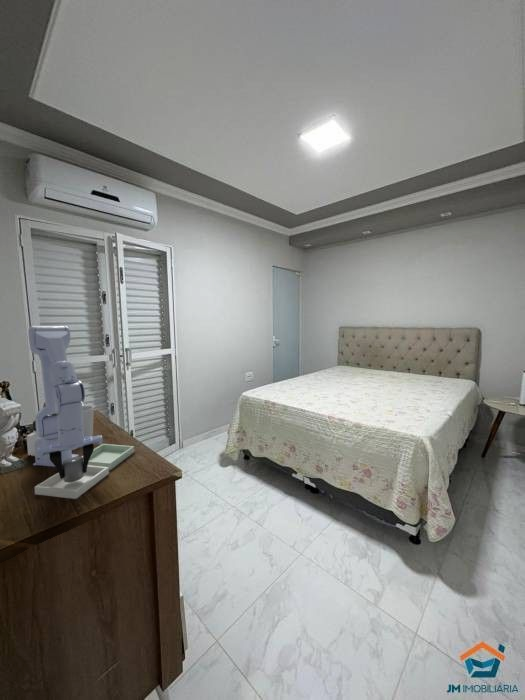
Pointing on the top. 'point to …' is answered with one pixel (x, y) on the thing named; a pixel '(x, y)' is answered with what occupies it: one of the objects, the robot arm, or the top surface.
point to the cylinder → (73, 469)
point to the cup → (88, 420)
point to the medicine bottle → (32, 440)
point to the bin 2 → (109, 455)
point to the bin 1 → (71, 483)
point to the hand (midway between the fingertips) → (73, 474)
